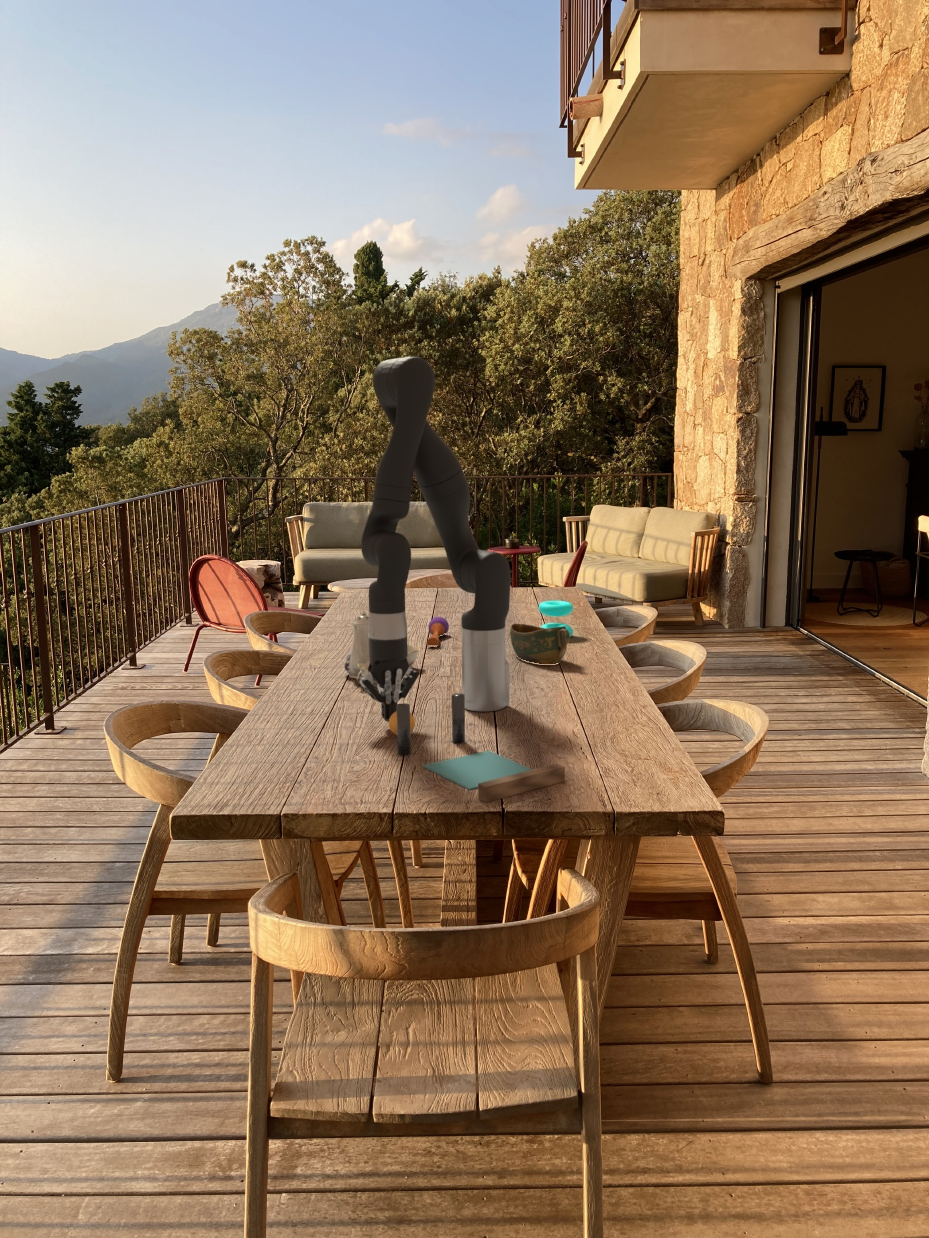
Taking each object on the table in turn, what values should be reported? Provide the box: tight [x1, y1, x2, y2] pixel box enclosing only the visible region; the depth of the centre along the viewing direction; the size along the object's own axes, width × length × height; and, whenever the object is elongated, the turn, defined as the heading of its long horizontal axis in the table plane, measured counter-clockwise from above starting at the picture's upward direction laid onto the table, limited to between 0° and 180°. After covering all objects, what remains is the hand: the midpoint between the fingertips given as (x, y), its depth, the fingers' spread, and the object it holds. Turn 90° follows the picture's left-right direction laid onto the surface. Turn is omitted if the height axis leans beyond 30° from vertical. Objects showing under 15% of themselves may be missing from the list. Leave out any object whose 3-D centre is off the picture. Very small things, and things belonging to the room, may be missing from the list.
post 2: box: [451, 692, 466, 744], centre depth 175 cm, size 2×2×9 cm
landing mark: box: [422, 750, 533, 791], centre depth 161 cm, size 14×14×1 cm
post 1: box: [396, 702, 412, 757], centre depth 169 cm, size 2×2×9 cm
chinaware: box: [343, 609, 421, 688], centre depth 227 cm, size 28×17×17 cm, turn 168°
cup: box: [509, 623, 571, 664], centre depth 242 cm, size 13×20×10 cm, turn 7°
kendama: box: [426, 616, 450, 646], centre depth 269 cm, size 6×6×20 cm
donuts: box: [538, 600, 574, 636], centre depth 273 cm, size 10×10×10 cm
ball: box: [388, 711, 416, 736], centre depth 180 cm, size 5×5×5 cm
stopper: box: [477, 763, 566, 803], centre depth 151 cm, size 16×2×2 cm, turn 125°
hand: (389, 720), depth 185 cm, fingers closed
